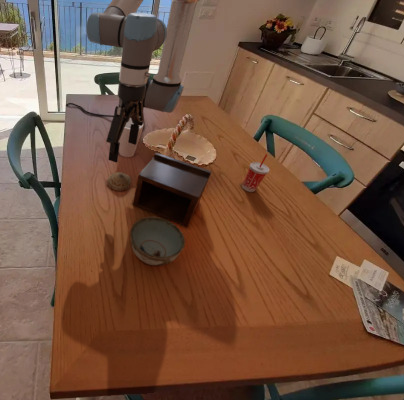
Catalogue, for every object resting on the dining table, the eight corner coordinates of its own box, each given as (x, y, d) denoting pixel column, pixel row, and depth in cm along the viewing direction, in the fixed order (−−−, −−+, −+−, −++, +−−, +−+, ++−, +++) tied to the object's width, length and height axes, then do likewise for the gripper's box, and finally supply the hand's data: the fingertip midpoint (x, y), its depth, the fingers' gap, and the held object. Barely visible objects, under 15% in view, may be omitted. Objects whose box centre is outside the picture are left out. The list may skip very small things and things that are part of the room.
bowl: (165, 286, 65) (173, 267, 60) (117, 261, 70) (120, 241, 65) (183, 249, 74) (192, 230, 69) (139, 229, 79) (144, 209, 73)
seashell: (134, 173, 96) (130, 177, 89) (130, 188, 98) (127, 193, 91) (112, 168, 98) (107, 171, 90) (109, 182, 100) (104, 187, 92)
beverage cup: (259, 188, 97) (279, 154, 88) (254, 195, 94) (273, 161, 84) (243, 180, 100) (260, 147, 91) (236, 187, 97) (254, 154, 87)
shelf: (132, 204, 87) (139, 171, 78) (148, 184, 95) (155, 152, 87) (186, 227, 80) (200, 194, 71) (198, 203, 89) (211, 171, 80)
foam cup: (112, 155, 109) (115, 125, 100) (119, 145, 115) (122, 116, 106) (134, 161, 106) (139, 131, 98) (140, 150, 113) (145, 121, 104)
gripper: (124, 99, 63) (115, 173, 76) (162, 75, 79) (148, 140, 93) (97, 92, 65) (92, 165, 79) (139, 70, 82) (129, 133, 96)
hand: (123, 151), depth 86 cm, fingers open, 13 cm apart
